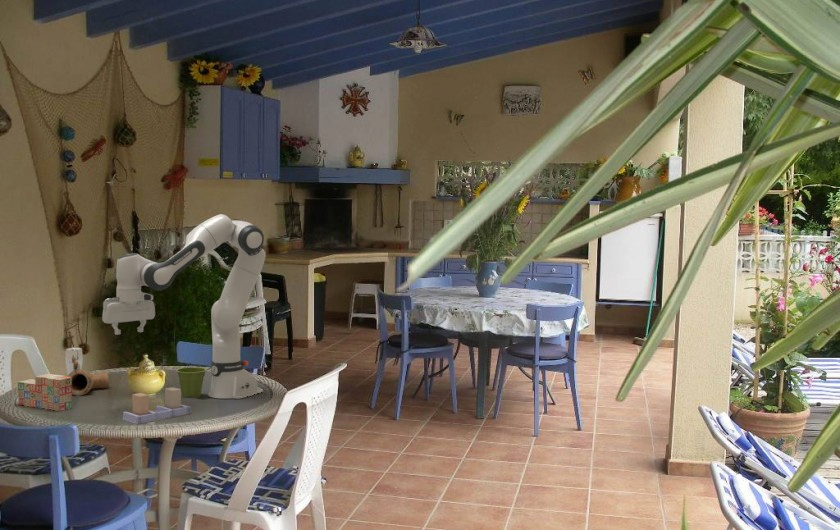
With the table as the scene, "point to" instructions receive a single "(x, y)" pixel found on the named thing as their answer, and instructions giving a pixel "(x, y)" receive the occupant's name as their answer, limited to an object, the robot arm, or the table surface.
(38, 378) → the stack of blocks
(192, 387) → the plant pot
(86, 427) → the table surface
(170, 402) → the beige upright block
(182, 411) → the rack
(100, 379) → the clay pipe
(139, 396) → the tan rectangular block
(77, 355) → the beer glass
